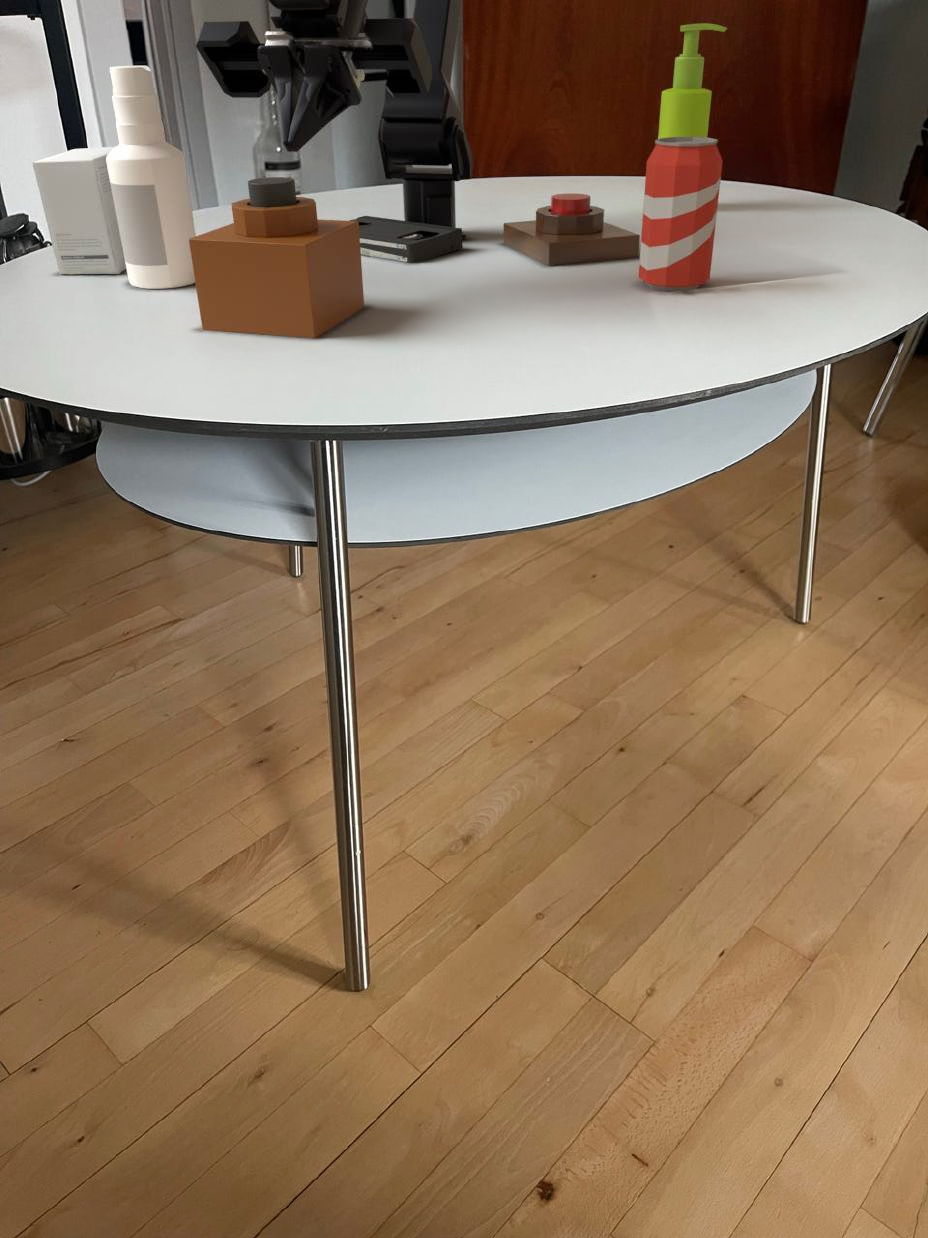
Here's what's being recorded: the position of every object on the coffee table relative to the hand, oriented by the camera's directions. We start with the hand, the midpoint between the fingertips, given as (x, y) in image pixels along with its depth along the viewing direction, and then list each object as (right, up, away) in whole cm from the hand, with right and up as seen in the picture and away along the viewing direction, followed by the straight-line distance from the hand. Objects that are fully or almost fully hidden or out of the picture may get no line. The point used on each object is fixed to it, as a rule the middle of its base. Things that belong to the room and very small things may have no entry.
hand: (289, 147), depth 79 cm
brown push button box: (-1, -12, +4) cm, 13 cm away
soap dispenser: (+41, +14, +46) cm, 64 cm away
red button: (+25, +4, +23) cm, 34 cm away
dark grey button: (-1, -5, -1) cm, 5 cm away
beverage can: (+33, -7, +11) cm, 36 cm away
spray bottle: (-15, -5, +16) cm, 22 cm away
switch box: (+25, +1, +25) cm, 35 cm away
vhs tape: (+6, +2, +27) cm, 28 cm away
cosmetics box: (-23, -1, +23) cm, 33 cm away
